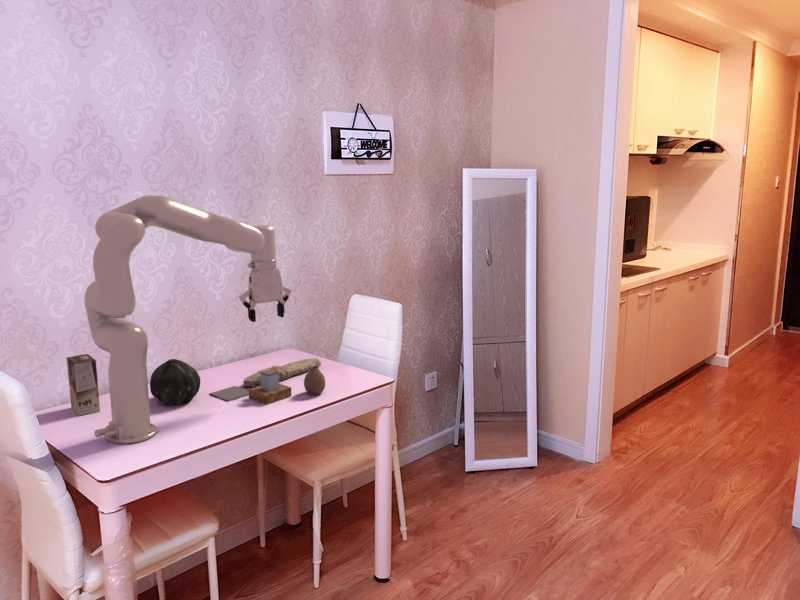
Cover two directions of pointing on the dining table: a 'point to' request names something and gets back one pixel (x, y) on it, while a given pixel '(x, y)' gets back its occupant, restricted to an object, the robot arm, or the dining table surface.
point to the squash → (174, 382)
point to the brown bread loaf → (284, 371)
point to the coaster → (230, 393)
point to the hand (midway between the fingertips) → (266, 318)
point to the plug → (269, 380)
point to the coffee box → (83, 384)
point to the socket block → (269, 394)
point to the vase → (314, 381)
